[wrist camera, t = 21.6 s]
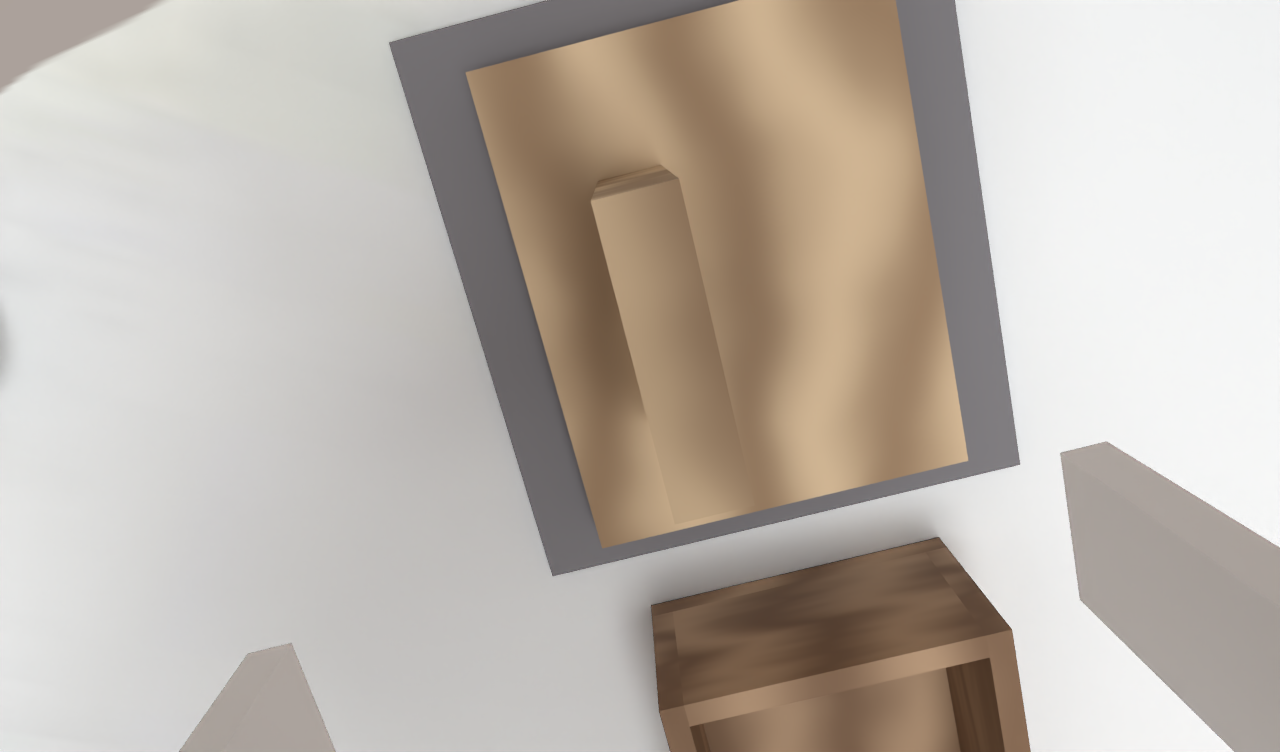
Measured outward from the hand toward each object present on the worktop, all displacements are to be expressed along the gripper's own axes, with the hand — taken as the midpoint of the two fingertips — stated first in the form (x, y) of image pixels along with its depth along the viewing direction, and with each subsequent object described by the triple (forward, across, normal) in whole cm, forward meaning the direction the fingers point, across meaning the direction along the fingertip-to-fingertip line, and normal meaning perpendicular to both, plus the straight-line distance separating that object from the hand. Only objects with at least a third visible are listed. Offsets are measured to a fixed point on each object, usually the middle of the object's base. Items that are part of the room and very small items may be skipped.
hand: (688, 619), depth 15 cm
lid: (+24, +4, +1) cm, 24 cm away
